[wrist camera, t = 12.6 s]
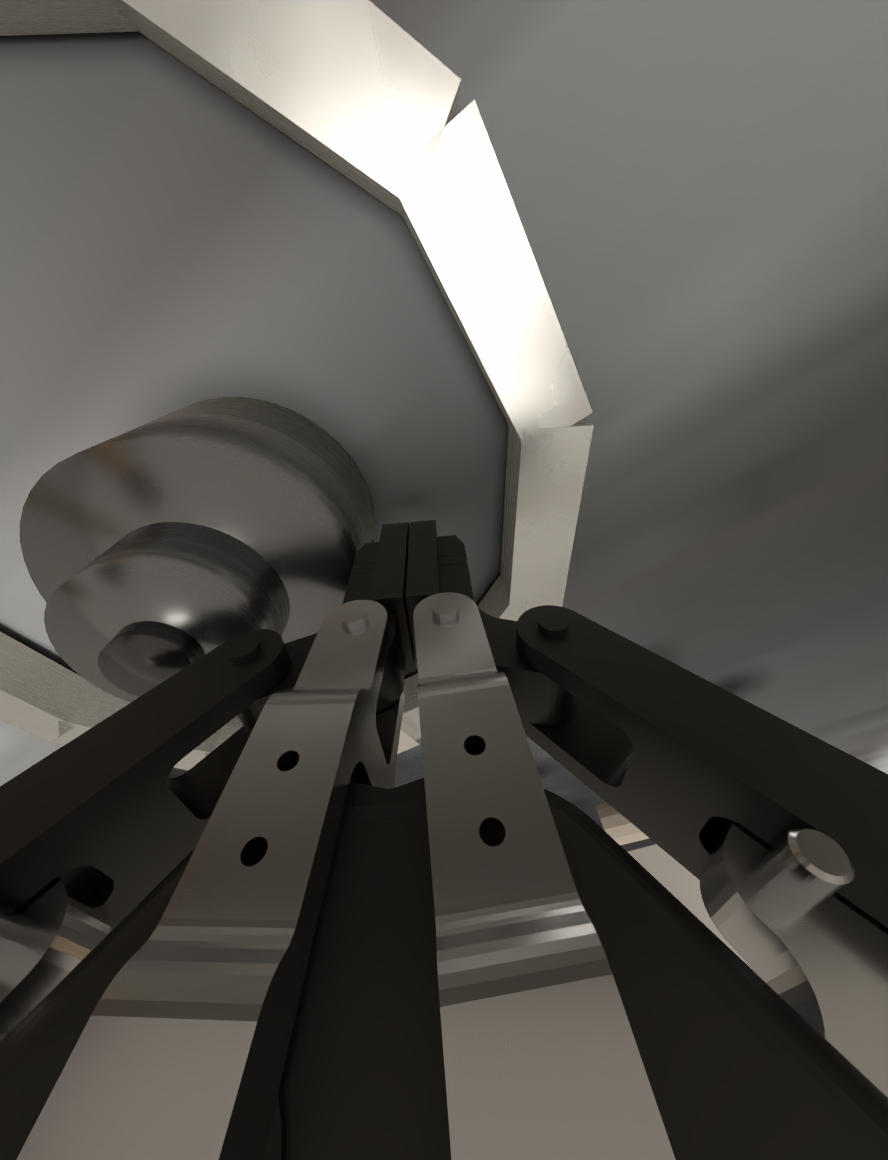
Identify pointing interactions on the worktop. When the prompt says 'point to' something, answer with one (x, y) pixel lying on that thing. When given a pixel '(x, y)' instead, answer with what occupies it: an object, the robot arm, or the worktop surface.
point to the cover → (192, 539)
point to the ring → (442, 232)
